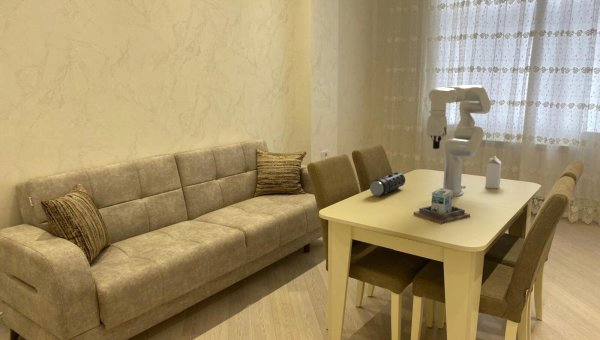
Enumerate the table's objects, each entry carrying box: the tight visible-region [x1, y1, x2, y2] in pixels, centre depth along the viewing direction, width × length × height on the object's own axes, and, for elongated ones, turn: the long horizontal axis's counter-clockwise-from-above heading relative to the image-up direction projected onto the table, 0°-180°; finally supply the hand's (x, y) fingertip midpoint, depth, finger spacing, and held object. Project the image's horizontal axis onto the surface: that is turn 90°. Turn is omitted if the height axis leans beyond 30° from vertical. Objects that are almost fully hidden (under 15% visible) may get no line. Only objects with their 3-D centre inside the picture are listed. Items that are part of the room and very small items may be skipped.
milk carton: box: [484, 155, 503, 189], centre depth 263 cm, size 7×7×19 cm
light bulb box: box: [430, 187, 454, 214], centre depth 209 cm, size 11×7×11 cm, turn 142°
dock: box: [413, 205, 471, 225], centre depth 210 cm, size 20×17×4 cm
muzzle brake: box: [369, 171, 406, 197], centre depth 252 cm, size 10×28×10 cm, turn 142°
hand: (436, 148), depth 229 cm, fingers closed
